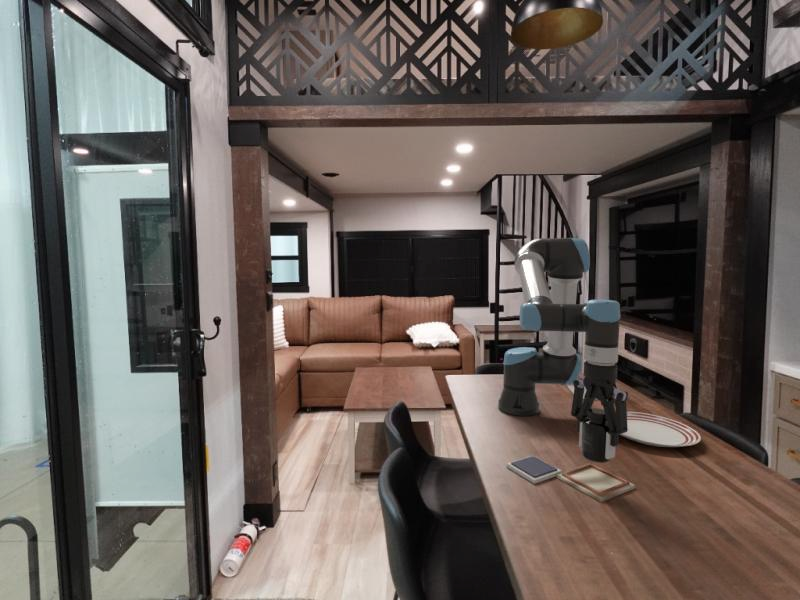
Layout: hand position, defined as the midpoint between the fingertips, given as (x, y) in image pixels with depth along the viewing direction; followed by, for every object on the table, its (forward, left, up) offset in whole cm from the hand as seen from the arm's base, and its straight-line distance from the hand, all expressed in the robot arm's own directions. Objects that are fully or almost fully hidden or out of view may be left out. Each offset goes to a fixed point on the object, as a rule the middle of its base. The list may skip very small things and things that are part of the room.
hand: (596, 451), depth 107 cm
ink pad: (-12, -9, -8) cm, 17 cm away
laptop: (-49, +62, -9) cm, 80 cm away
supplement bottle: (0, 0, -2) cm, 2 cm away
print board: (0, 0, -8) cm, 8 cm away
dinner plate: (-11, +42, -9) cm, 44 cm away
